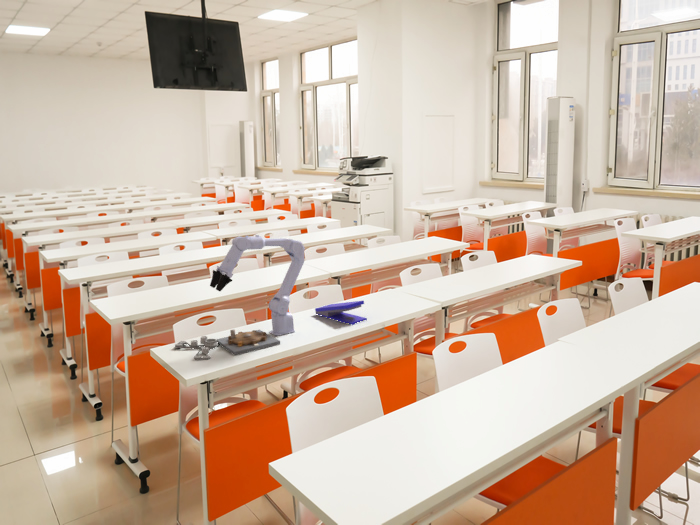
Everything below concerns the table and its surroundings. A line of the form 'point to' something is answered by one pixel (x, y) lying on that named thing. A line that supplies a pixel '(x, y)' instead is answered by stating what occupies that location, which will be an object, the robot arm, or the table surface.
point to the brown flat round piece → (246, 337)
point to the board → (248, 348)
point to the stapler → (341, 312)
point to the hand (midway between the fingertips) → (214, 288)
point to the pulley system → (194, 344)
